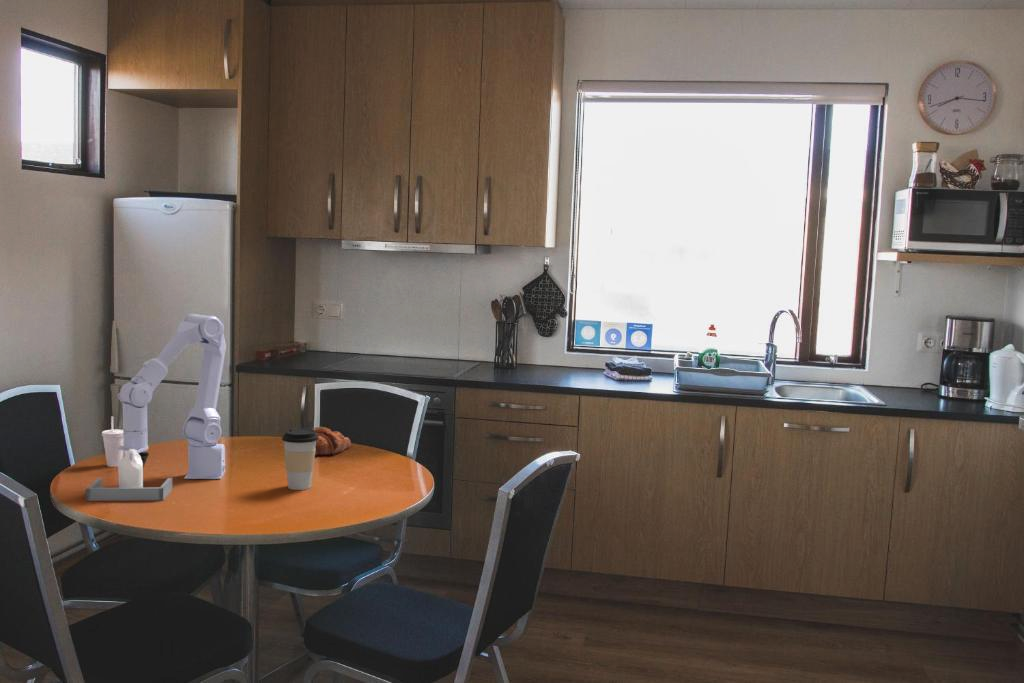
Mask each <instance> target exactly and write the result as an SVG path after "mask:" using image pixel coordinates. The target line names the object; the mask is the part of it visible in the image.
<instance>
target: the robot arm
mask: <svg viewBox="0 0 1024 683" xmlns="http://www.w3.org/2000/svg"><path fill="white" fill-rule="evenodd" d="M177 326H178V327H177V330H176V332H175V333H174V334H173V335H172V336H171V338H170V339H169V341H168V342H167V343H166V344H165V346H164V347H163V349H162V350H161V351H160V353H159V354H158V356H157V357H156V358H150V359H149V360H147V361H144V362H143V363H142V368H140V370H139V371H138V372H137V373H136V374H135V376H132V377H131V379H130V382H127V383H125V384H123V385H122V386H121V388H120V389H119V393H117V398H118V401H120V402H121V404H122V405H121V406H122V425H123V426H122V428H123V429H122V430H123V446H119V447H118V449H119V450H123V455H124V457H125V452H126V451H128V450H129V449H135V450H136V451H137V453H138V454H139V455H140V456H141V459H142V462H143V469H144V468H145V464H146V462H147V459H148V457H149V454H150V453H149V452H147V451H148V450H149V444H148V443H149V442H148V404H149V403H151V402H152V399H153V392H154V391H155V389H156V388H157V387H158V386H159V384H160V383H161V382H162V381H163V380H164V378H166V376H167V374H168V373H169V367H168V366H170V365H171V363H172V362H173V361H174V360H175V359H176V358H177V357H178V356H179V355H180V353H181V352H182V351H183V350H185V349H186V347H187V346H189V345H190V344H195V343H198V344H199V346H200V347H201V348H202V349H203V357H202V363H201V368H200V374H199V381H198V386H197V393H196V398H195V399H196V400H195V403H194V404H195V405H194V407H193V408H192V409H191V410H190V411H189V412H188V414H187V415H188V416H187V419H186V421H185V422H184V424H183V427H182V432H183V433H182V434H183V436H184V437H185V438H186V439H187V451H188V453H187V454H188V455H187V456H188V458H187V459H188V463H187V464H188V465H187V466H188V467H187V468H188V470H187V472H188V473H186V475H185V476H184V479H185V480H198V479H199V480H221V479H222V477H223V476H224V475H225V473H226V447H225V444H224V443H218V442H219V441H220V439H221V436H222V427H221V420H222V419H221V416H220V414H219V413H218V412H217V406H218V400H219V393H220V387H221V380H222V374H223V369H224V364H225V363H224V362H225V356H226V350H227V342H226V338H225V335H224V334H225V333H224V330H225V325H224V324H223V322H222V321H221V320H220V319H219V318H218V316H217V317H216V316H215V315H202V314H198V313H190V314H187V315H186V316H185V317H184V318H183V320H182V321H181V322H179V323H178V325H177ZM122 457H123V456H122ZM129 459H130V460H131V461H132V460H133V453H130V457H129Z"/></svg>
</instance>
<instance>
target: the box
mask: <svg viewBox="0 0 1024 683" xmlns="http://www.w3.org/2000/svg"><path fill="white" fill-rule="evenodd" d="M172 491H173V478H172V477H168V478H167V479H166V480H164V482H163V483H162V484H161V486H159V487H157V486H156V487H153V486H152V487H151V486H149V487H144V486H143V487H130V488H119V487H103V477H100V478H99V477H98V478H97V479H95V480H94V481H93V482H92V483H91V484H89V486H87V487H86V488H85V501H86V502H88V501H89V502H95V501H96V502H97V501H98V502H101V501H102V502H104V501H105V502H106V501H107V502H108V501H111V502H113V501H114V502H115V501H116V502H117V501H118V502H119V501H121V502H122V501H127V502H129V501H164V500H165V499H166V498H167V497H168V495H169V494H170V493H171V492H172Z"/></svg>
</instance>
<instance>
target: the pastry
mask: <svg viewBox="0 0 1024 683" xmlns="http://www.w3.org/2000/svg"><path fill="white" fill-rule="evenodd" d="M312 430H315V431H316V434H317V435H318V438H319V439H318V440H317V441H316V445H315V448H316V450H315V457H324V456H325V457H326V456H335V455H337V454H341V453H342V452H344V451H345V450H348V449H349V448H350V447H351V445H352V442H351V439H350V438H349V437H347V436H346V437H345V436H344V435H343V434H342V433H341V432H339V431H337V430H336V431H335V430H334V431H332V430H331V429H330V428H327V427H324V426H316V427H314V428H312Z"/></svg>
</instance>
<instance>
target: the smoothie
mask: <svg viewBox="0 0 1024 683" xmlns="http://www.w3.org/2000/svg"><path fill="white" fill-rule="evenodd" d="M110 427H111V429H107V430H103V431H102V432H101V437H102V439H103V444H104V445H103V447H104V452H105V459H106V465H107V467H110V468H118V462H119V461H120V460H121V458H122V456H123V455H124V452H123V450H119V449H118V447H119V446H123V429H118V428H117V429H116V428H115V429H114V416H110Z"/></svg>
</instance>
